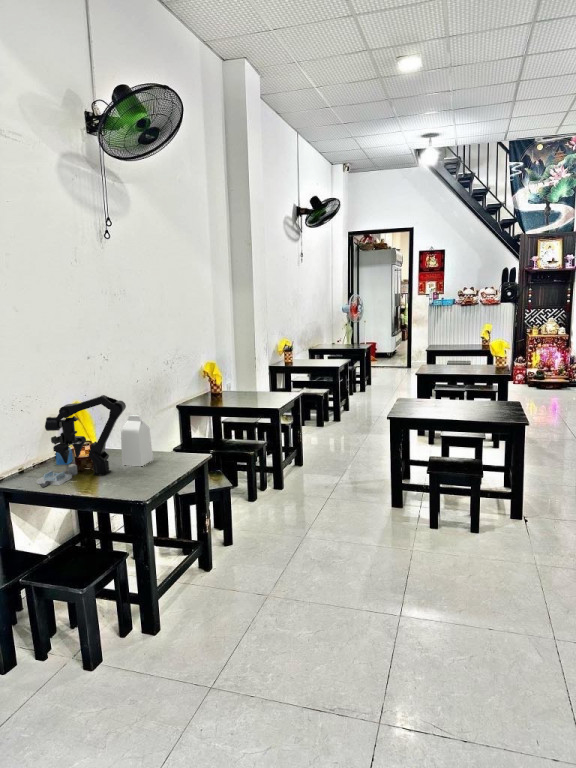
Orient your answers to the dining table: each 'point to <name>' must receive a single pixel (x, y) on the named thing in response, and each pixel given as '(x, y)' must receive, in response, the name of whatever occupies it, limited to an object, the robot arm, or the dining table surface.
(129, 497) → the dining table surface
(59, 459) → the perfume bottle
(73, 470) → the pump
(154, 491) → the dining table surface
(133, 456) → the milk
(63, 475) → the motor block
